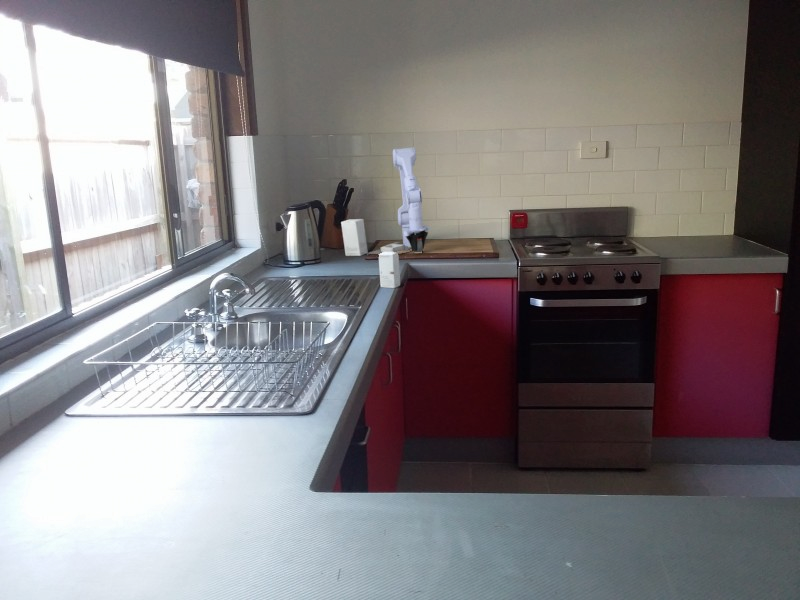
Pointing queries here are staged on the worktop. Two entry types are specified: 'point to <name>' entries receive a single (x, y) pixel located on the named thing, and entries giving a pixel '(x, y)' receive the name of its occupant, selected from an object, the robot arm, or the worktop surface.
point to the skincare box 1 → (354, 237)
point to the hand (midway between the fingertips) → (418, 249)
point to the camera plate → (391, 248)
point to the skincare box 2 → (389, 269)
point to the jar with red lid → (419, 245)
